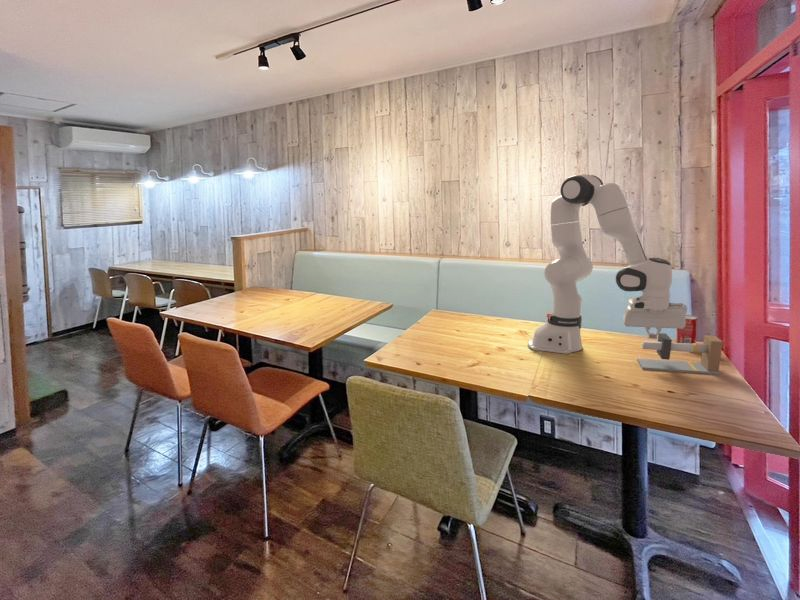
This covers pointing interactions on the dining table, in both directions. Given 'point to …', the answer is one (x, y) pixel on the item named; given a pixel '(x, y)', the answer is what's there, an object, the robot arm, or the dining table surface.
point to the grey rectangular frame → (664, 346)
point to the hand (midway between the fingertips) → (651, 338)
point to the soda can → (687, 331)
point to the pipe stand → (707, 366)
